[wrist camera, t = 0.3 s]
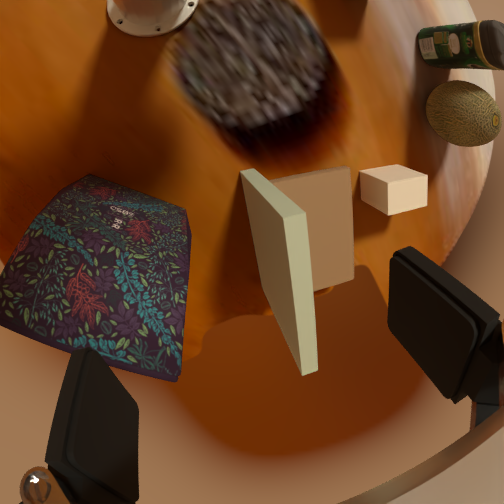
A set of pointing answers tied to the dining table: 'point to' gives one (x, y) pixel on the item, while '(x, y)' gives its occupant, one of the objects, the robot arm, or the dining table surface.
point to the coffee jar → (464, 45)
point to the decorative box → (103, 277)
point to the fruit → (463, 114)
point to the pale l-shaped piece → (300, 247)
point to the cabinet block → (393, 188)
